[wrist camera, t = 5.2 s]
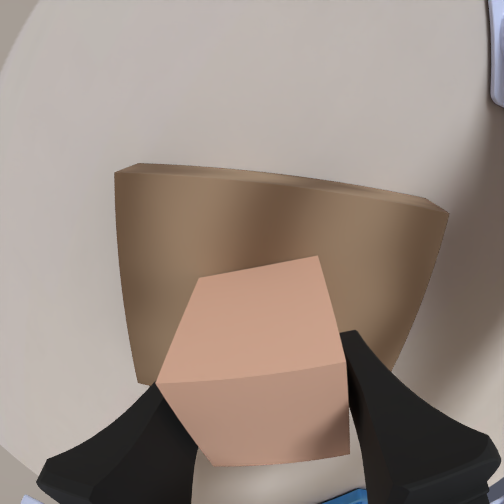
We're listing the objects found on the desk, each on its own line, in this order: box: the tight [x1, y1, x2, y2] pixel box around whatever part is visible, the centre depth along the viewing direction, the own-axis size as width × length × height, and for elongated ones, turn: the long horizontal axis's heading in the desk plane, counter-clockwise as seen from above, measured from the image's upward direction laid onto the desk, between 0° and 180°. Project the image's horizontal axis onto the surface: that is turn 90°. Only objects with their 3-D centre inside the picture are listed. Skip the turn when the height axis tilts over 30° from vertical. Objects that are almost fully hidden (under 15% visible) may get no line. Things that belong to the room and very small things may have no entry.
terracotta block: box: [155, 255, 350, 466], centre depth 11 cm, size 5×5×6 cm
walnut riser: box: [114, 163, 449, 408], centre depth 15 cm, size 14×12×2 cm
